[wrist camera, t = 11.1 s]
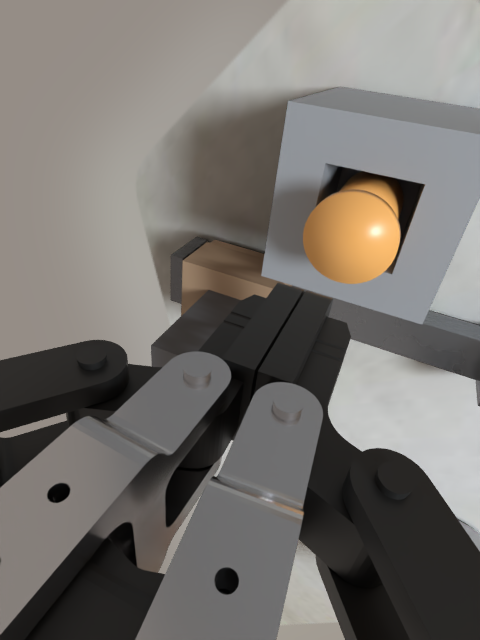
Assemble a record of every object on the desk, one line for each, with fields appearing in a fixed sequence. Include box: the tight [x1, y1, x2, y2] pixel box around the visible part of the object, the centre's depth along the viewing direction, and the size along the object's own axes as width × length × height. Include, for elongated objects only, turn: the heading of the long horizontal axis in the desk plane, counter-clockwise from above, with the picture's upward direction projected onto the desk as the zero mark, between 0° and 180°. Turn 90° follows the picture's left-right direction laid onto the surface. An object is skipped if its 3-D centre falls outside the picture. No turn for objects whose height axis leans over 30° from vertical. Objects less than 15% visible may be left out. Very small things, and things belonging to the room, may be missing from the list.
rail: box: [171, 237, 480, 406], centre depth 30 cm, size 24×4×4 cm, turn 84°
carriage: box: [151, 240, 292, 367], centre depth 28 cm, size 7×6×12 cm
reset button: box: [303, 171, 404, 284], centre depth 18 cm, size 4×4×6 cm
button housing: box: [261, 87, 480, 325], centre depth 21 cm, size 8×9×10 cm
